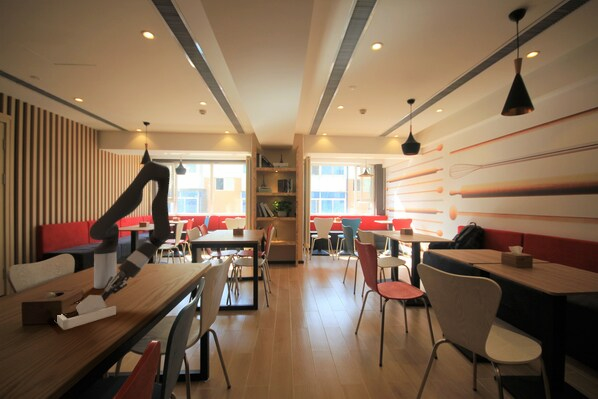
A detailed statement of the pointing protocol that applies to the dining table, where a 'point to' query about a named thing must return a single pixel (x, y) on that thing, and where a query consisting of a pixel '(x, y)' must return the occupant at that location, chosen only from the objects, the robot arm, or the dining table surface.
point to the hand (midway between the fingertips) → (99, 301)
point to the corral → (84, 318)
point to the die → (91, 304)
